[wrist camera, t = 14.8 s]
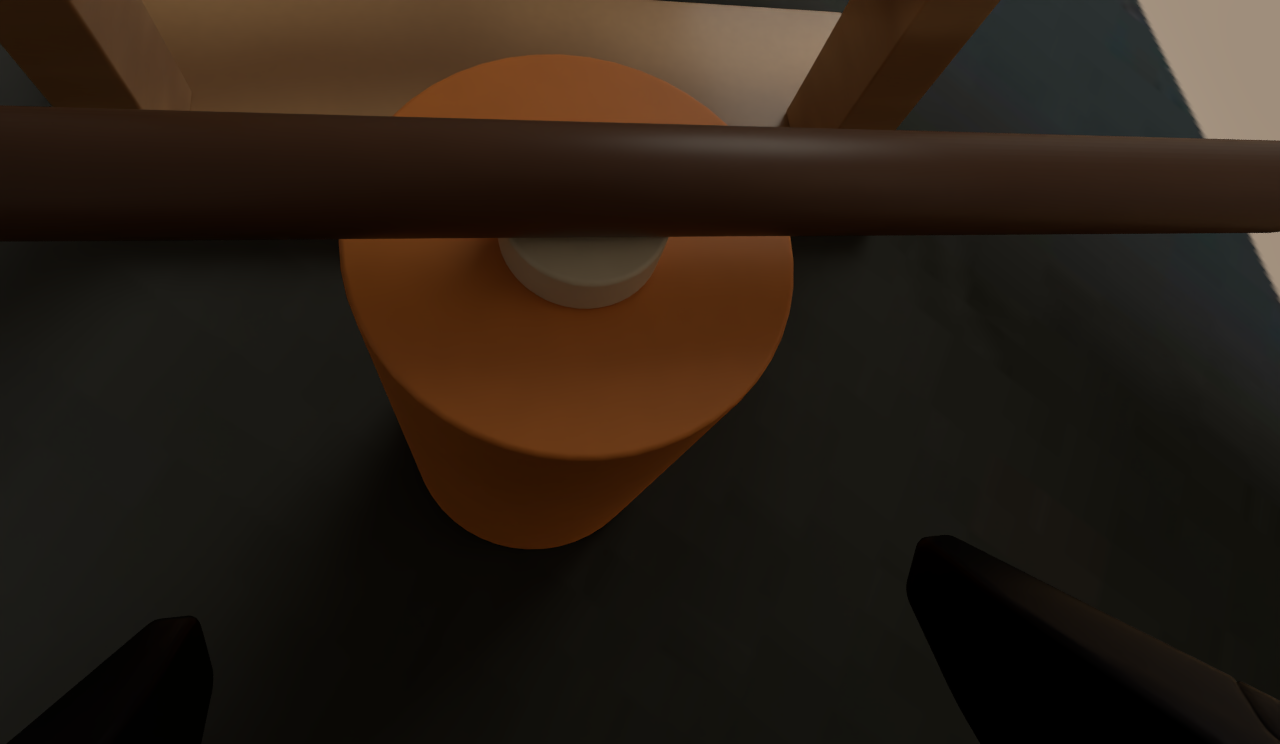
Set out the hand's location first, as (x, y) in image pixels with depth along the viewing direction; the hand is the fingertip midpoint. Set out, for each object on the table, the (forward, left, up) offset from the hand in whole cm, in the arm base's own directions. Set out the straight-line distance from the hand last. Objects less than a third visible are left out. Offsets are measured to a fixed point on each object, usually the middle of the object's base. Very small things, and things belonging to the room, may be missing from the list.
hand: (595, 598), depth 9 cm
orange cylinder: (+2, -4, -8) cm, 9 cm away
